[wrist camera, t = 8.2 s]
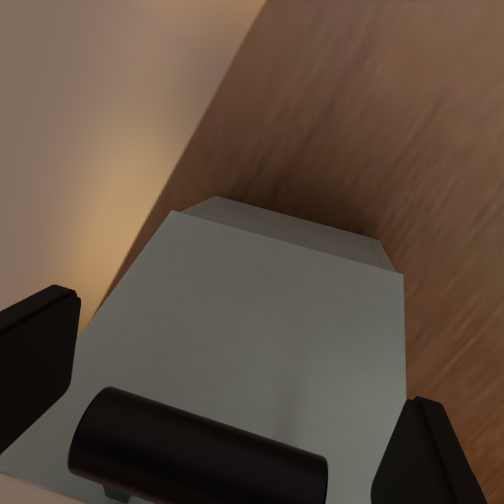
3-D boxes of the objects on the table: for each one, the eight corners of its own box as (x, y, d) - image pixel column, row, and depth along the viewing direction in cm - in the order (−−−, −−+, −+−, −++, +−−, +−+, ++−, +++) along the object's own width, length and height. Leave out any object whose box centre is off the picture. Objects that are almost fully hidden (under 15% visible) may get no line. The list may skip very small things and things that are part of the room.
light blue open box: (323, 405, 34) (321, 490, 26) (180, 360, 35) (134, 426, 27) (379, 239, 30) (399, 276, 22) (215, 195, 31) (174, 213, 23)
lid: (401, 713, 10) (531, 717, 6) (-53, 537, 11) (-154, 458, 8) (398, 284, 21) (444, 199, 18) (171, 220, 23) (172, 129, 19)
